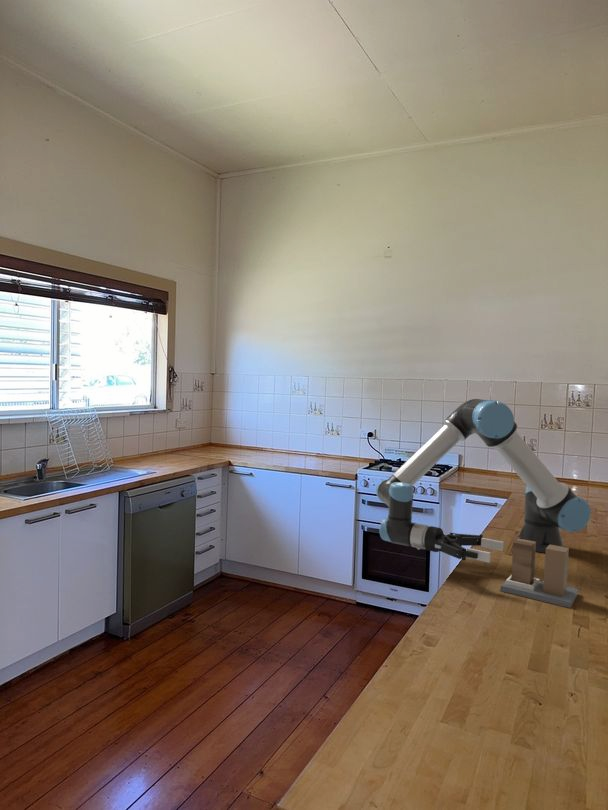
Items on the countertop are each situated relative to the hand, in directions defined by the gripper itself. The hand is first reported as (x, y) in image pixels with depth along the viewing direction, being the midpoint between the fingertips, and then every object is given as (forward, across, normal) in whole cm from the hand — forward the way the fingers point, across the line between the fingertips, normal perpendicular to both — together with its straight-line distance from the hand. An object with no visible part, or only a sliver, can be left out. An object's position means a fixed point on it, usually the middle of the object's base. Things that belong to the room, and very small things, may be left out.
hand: (497, 552), depth 163 cm
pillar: (+7, 0, -8) cm, 11 cm away
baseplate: (+12, 0, -9) cm, 15 cm away
